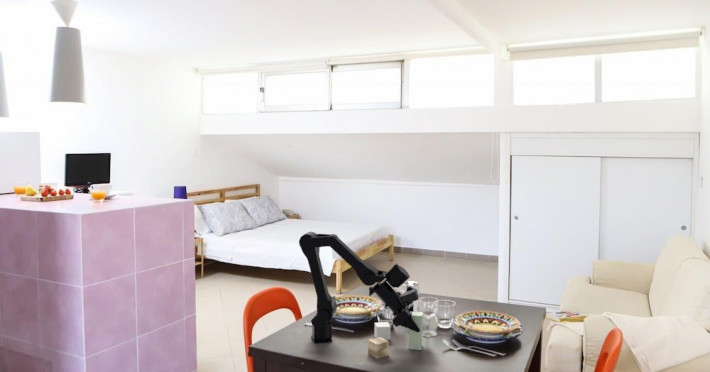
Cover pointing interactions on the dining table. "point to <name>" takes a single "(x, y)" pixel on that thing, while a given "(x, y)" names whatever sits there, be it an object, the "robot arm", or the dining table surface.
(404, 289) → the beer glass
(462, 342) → the dining table surface
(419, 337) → the sage block
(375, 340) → the oak cube
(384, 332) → the white cube
